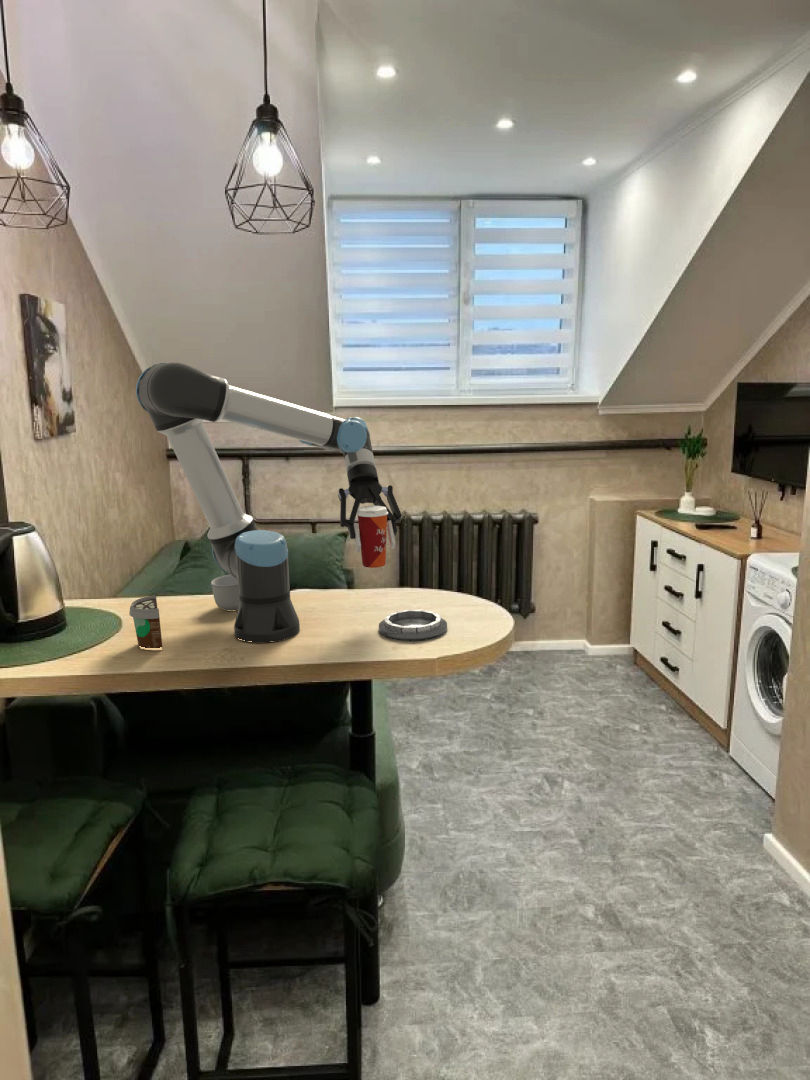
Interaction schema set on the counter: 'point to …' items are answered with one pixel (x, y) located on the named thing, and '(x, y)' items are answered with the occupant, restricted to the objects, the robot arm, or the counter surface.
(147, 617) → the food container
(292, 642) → the counter surface
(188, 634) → the counter surface
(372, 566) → the paper cup
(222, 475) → the robot arm
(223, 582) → the teacup
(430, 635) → the rosette plate
